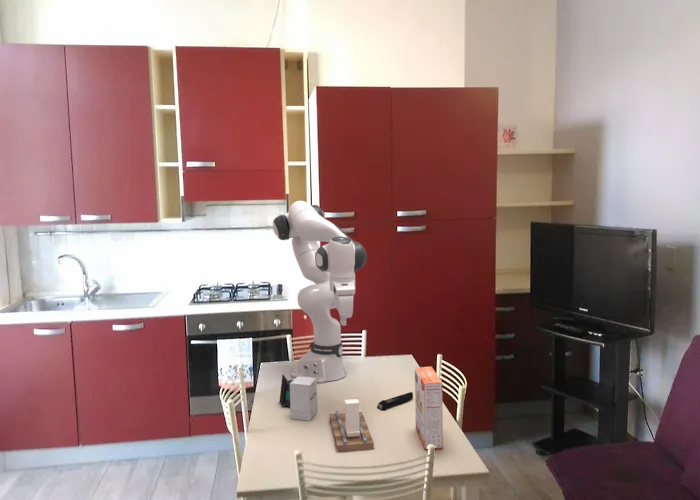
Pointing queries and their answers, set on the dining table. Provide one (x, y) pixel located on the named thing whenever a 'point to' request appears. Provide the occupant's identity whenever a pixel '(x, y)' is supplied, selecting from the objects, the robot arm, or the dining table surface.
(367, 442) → the switch track
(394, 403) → the electric trimmer
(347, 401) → the switch tab
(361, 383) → the dining table surface
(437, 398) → the cracker box
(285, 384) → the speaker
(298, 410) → the supplement box
